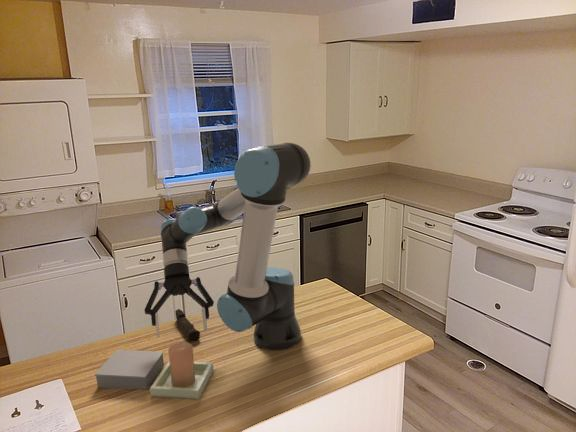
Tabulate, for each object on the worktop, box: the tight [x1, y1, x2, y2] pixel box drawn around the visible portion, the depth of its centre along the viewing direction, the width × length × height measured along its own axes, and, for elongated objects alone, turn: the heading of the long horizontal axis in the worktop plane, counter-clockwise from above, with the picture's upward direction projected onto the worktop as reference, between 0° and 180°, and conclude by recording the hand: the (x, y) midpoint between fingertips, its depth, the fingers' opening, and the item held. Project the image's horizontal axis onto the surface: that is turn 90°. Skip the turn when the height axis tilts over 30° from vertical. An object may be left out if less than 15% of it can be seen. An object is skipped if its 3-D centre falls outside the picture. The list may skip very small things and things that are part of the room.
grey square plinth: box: [94, 349, 165, 391], centre depth 130 cm, size 14×12×4 cm
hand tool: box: [174, 308, 201, 344], centre depth 155 cm, size 19×4×5 cm, turn 27°
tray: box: [149, 361, 214, 400], centre depth 126 cm, size 13×13×2 cm
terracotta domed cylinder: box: [167, 341, 195, 388], centre depth 125 cm, size 6×6×10 cm
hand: (182, 333), depth 134 cm, fingers open, 13 cm apart
